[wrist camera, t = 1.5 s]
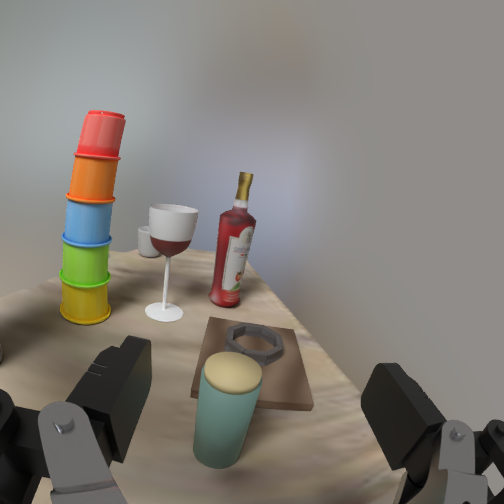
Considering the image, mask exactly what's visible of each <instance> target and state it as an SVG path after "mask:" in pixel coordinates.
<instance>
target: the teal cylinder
mask: <svg viewBox="0 0 504 504" xmlns="http://www.w3.org/2000/svg"><path fill="white" fill-rule="evenodd" d="M261 386H262V370H261V367H260V366H259V364H258V363H257V362H256V361H255V360H253V359H252V358H250V357H248V356H246V355H243V354H240V353H236V352H220V353H216V354H213V355H212V356H210V357H209V358H208V359H207V360H206V362H205V365H204V366H203V368H202V372H201V380H200V388H199V397H198V406H197V415H196V425H195V435H194V445H193V452H194V455H195V457H196V458H197V460H198V461H199V462H201V463H202V464H204V465H205V466H208V467H211V468H217V469H219V468H226V467H229V466H231V465H233V464H234V463H235V462H236V461H237V459H238V457H239V454H240V451H241V448H242V445H243V442H244V439H245V436H246V433H247V430H248V427H249V424H250V421H251V418H252V415H253V412H254V408H255V405H256V402H257V399H258V396H259V392H260V389H261Z"/></svg>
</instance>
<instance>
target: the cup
mask: <svg viewBox="0 0 504 504" xmlns="http://www.w3.org/2000/svg"><path fill="white" fill-rule="evenodd" d="M138 250H139V253H140V255H142V256H144V257H156V256H158V255H159V253H160V252H158V251H157V250H156V249H155V248H154V247H153V246H152V244H151V240H150V231H149V226H145V227H144V226H143V227H140V228H139V229H138Z"/></svg>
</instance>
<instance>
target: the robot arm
mask: <svg viewBox="0 0 504 504" xmlns="http://www.w3.org/2000/svg"><path fill="white" fill-rule="evenodd" d="M2 357H3V350H2V346H1V343H0V362H1V360H2ZM151 380H152V366H151V341H150V340H147V339H143V338H138V337H134V336H130V335H129V336H127V337H126V339H125V340H124V342H123V343H122V345H121V346H120V348H118V347H114V346H111V347H109V348H107V349H106V350H104V351H102V352H100V354H99V355H98V356H97V358H96V359H95V360H94V362H93V364H91V366H90V367H89V368H88V371H87V372H86V373H85V374H84V375H83V377H82V378H81V380H80V381H79V382H78V384H77V385H76V387H75V388H74V390H73V391H72V392H71V394H70V395H69V397H68V398H67V400H66V401H65V402H54V403H51V404H49V405H47V406H45V407H44V408H43V409H42V410H41V411H37V410H32V409H27V408H22V407H17V406H15V405H14V403H13V401H12V399H11V397H10V395H9V394H8V393H7V392H5V391H4V390H2V389H0V504H31V503H32V500H33V498H34V495H35V493H36V490H37V488H38V485H39V483H40V480H41V478H42V477H46V478H51V481H52V485H53V491H51V492H50V496H51V501H52V504H127V502H126V500H125V498H124V496H123V495H122V493H121V491H120V489H119V487H118V485H117V484H116V482H115V480H114V479H113V477H112V474H111V472H110V470H109V467H110V464H111V462H112V460H114V461H117V462H120V463H123V462H124V459H125V456H126V453H127V450H128V447H129V445H130V442H131V439H132V436H133V434H134V431H135V428H136V425H137V423H138V420H139V417H140V415H141V412H142V409H143V407H144V404H145V402H146V399H147V396H148V394H149V391H150V387H151ZM361 408H362V411H363V413H364V415H365V417H366V419H367V421H368V423H369V425H370V427H371V429H372V431H373V433H374V435H375V437H376V439H377V441H378V443H379V445H380V447H381V449H382V451H383V453H384V455H385V457H386V459H387V461H388V463H389V465H390V467H391V469H392V471H393V470H397V469H401V468H404V467H405V468H406V471H405V472H404V474H403V475H402V477H401V481H400V484H399V487H398V490H397V493H396V496H395V499H394V502H393V504H504V488H503V489H502V491H501V492H500V493H499V494H497V495H496V496H494V495H493V493H492V492H491V490H490V488H489V486H488V481H487V477H486V476H484V475H481V474H482V473H483V472H484V471H485V470H486V469H487V468H488V467H489V466H490V465H491V464H492V462H494V464H495V465H496V467H497V468H498V470H499V472H500V473H501V475H502V476H503V477H504V422H503V421H501V420H491V421H490V422H489V423H488V424H487V426H486V427H485V429H484V430H483V431H476V432H473V431H472V430H471V429H470V427H469V426H468V425H466V424H465V423H463V422H461V421H458V420H450V421H447V420H446V419H445V418H444V416H443V415H442V414H441V413H440V411H439V410H438V409H437V407H436V406H435V405H434V403H433V402H432V401H431V400H430V398H428V396H427V395H426V393H425V392H423V390H422V388H421V387H420V386H419V385H418V383H417V382H416V381H414V380H413V379H412V378H410V377H409V376H408V375H407V374H406V373H405V372H404V371H403V369H402V368H401V367H400V365H399V364H397V363H379V364H377V365H376V366H375V368H374V370H373V372H372V374H371V377H370V379H369V381H368V383H367V385H366V387H365V389H364V391H363V393H362V396H361Z"/></svg>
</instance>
